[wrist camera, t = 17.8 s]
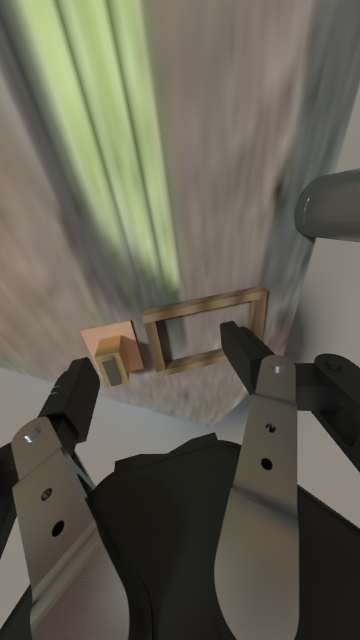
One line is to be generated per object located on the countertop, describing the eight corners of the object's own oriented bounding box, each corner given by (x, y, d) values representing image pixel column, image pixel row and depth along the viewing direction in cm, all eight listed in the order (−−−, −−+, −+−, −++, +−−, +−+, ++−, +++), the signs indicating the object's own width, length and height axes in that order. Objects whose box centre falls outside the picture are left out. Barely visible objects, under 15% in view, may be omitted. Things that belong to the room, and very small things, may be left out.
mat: (130, 320, 36) (130, 321, 36) (144, 367, 42) (144, 368, 42) (81, 330, 35) (80, 331, 35) (102, 377, 41) (101, 378, 41)
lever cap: (120, 334, 37) (118, 355, 32) (129, 362, 40) (128, 385, 35) (99, 339, 37) (93, 360, 31) (110, 366, 40) (106, 390, 34)
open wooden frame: (260, 286, 39) (267, 290, 37) (255, 345, 46) (261, 351, 44) (141, 310, 36) (142, 316, 34) (156, 369, 43) (157, 377, 41)
